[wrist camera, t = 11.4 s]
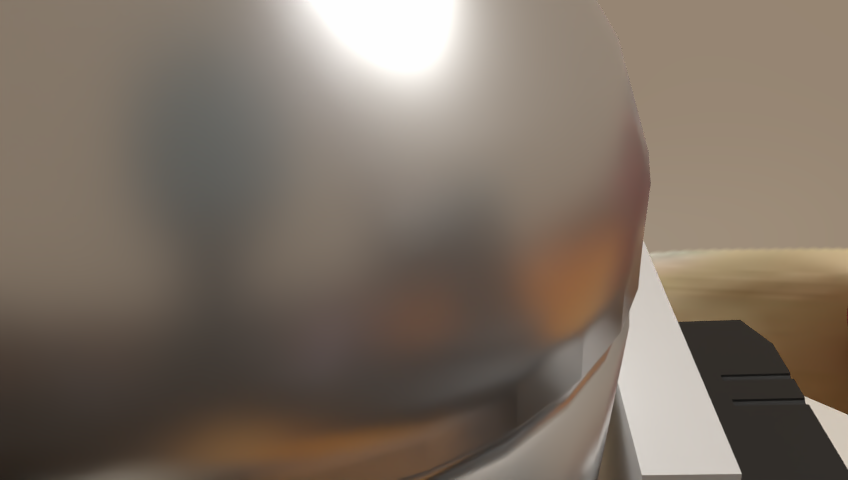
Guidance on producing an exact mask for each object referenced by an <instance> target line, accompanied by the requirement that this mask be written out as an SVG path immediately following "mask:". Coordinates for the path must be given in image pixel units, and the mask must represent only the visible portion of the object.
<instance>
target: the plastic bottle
mask: <svg viewBox="0 0 848 480" xmlns="http://www.w3.org/2000/svg"><path fill="white" fill-rule="evenodd" d="M650 183H651V182H650V167H649V152H648V148H647V144H646V141H645V137H644V133H643V129H642V126H641V122H640V118H639V114H638V110H637V107H636V103H635V99H634V95H633V91H632V87H631V84H630V80H629V76H628V72H627V68H626V65H625V61H624V58H623V53H622V50H621V46H620V42H619V38H618V36H617V35H616V33H615V31H614V29H613V28H612V26H611V24H610V22H609V21H608V19H607V17H606V15H605V14H604V12H603V10H602V8H601V7H600V5H599V3H598V1H597V0H0V480H598V475H599V470H600V466H601V461H602V456H603V451H604V446H605V442H606V437H607V432H608V427H609V422H610V417H611V413H612V408H613V403H614V398H615V393H616V388H617V384H618V379H619V374H620V369H621V364H622V359H623V355H624V350H625V345H626V340H627V335H628V331H629V311H630V308H631V306H632V303H633V301H634V298H635V296H636V293H637V291H638V285H639V276H640V266H641V256H642V246H643V236H644V227H645V220H646V213H647V206H648V199H649V191H650Z"/></svg>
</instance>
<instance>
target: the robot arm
mask: <svg viewBox="0 0 848 480" xmlns="http://www.w3.org/2000/svg"><path fill="white" fill-rule="evenodd" d="M598 480H848V469H847V467H846V465H845V464H844V462H843V460H842V459H841V457H840V455H839V454H838V452H837V450H836V449H835V447H834V445H833V444H832V442H831V440H830V439H829V437H828V435H827V434H826V432H825V430H824V429H823V427H822V425H821V424H820V422H819V420H818V419H817V417H816V415H815V414H814V412H813V410H812V409H811V407H810V405H809V404H806V403H805V397H804V395H803V394H802V392H801V390H800V389H799V387H798V385H797V384H796V382H795V380H794V379H791V378H790V372H789V370H788V369H787V367H786V365H785V364H784V362H783V360H782V359H781V357H780V355H779V354H778V352H777V350H776V349H775V347H774V345H773V344H772V343H771V342H769V341H768V340H767V339H765V338H764V337H763V336H761V335H760V334H758V333H757V332H756V331H754V330H753V329H752V328H750V327H749V326H748V325H746V324H745V323H743V322H742V321H741V320H726V321H694V322H678V321H677V319H676V317H675V314H674V312H673V309H672V307H671V305H670V302H669V300H668V298H667V295H666V293H665V290H664V288H663V286H662V283H661V281H660V279H659V276H658V274H657V272H656V269H655V267H654V264H653V262H652V260H651V257H650V255H649V253H648V250H647V248H646V246H645V243H644V241H643V246H642V256H641V266H640V276H639V285H638V291H637V293H636V296H635V298H634V301H633V303H632V306H631V308H630V311H629V331H628V335H627V340H626V345H625V350H624V355H623V359H622V364H621V369H620V374H619V379H618V384H617V388H616V393H615V398H614V403H613V408H612V413H611V417H610V422H609V427H608V432H607V437H606V442H605V446H604V451H603V456H602V461H601V466H600V470H599V475H598Z"/></svg>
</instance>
